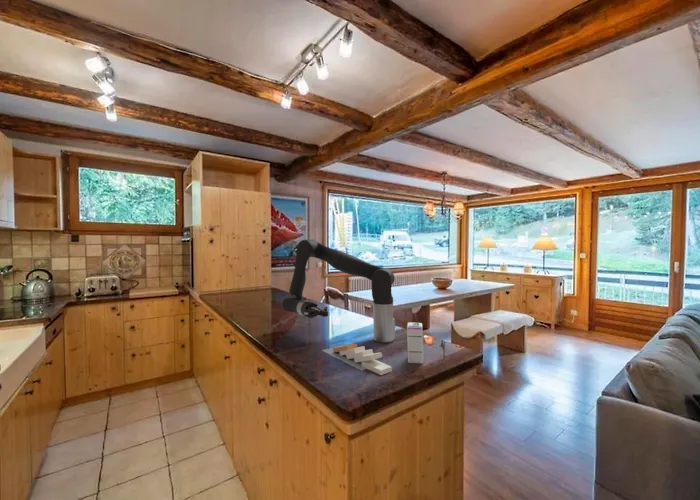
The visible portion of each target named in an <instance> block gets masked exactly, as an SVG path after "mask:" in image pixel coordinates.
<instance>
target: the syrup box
mask: <svg viewBox="0 0 700 500" xmlns="http://www.w3.org/2000/svg"><path fill="white" fill-rule="evenodd" d="M406 333H407V334H406V335H407V336H406V337H407V338H406V343H407V345H406V347H407V363H410V364H424V331H423V323H422V322H413V321H412V322H411V321H410V322H407V324H406Z"/></svg>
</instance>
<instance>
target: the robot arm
mask: <svg viewBox="0 0 700 500" xmlns="http://www.w3.org/2000/svg"><path fill="white" fill-rule="evenodd" d="M309 258H315V259H319V260H322V261H324V262H325V263H327V264H328V265H330V267H332V268H334V269H335V270H337V271H339V272H342V273H345V274H347V275H351V276H355V277H362V278H365V279H367V280H369V281H371V296H372V299H373V301H372V302H373V303H372V305H373V309H372V311H373V314H372V315H373V341H375V342H378V343H390V342H393V341H394V340H395V339H396V319H395V318H394V297H393V294H392V285H393V284H394V283H395V278H396V277H395V274H394V272H393V271H392V270H391V269H389V268H387V267H383V266H378V265H375V264H372V263H369V262H367V261H365V260H363V259H361V258H358V257H356V256H354V255H351V254H350V253H346V252H343V251H341V250H338V249H335V248H331V247H329V246H326V245H325V244H323V243H320V242H318V241H317V240H314V239H303V240H300V241H299V242H298V244H297V247H296V253H295V263H294V269H293V270H294V271H293V275H292V277H291V278H292V279H291V282H290V286H289V289H288V290H289V293H290V294H291V295H292V296H295V297H285V298H284V299H283V300H282V301H281V308H282V310H283V311H285V312H289V313H295V314H299V315H301V316H302V317H305V318H309V319H313V318H315V317H323V318H326V317H327V318H328V316H329V309H328V306H325V307H321V306H319V305H318V304H317V303H316V302H315V301H314V302H313V301H311V300H303V293H304V288H305V285H306V280H307V279H306V278H307V275H306V267H307V265H308V261H309Z"/></svg>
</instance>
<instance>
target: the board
mask: <svg viewBox="0 0 700 500" xmlns="http://www.w3.org/2000/svg"><path fill="white" fill-rule="evenodd" d="M340 346H341V345H337V346H334V347H329V348H326V349H321V351H322V352H324V353H325V354H328V355H329V356H332V357H333V358H335V359H338V360H340V361H341V362H343V363H345V364H347V365H349V366H352V367H353V368H356V369H357V370H360V371H364V370H368V369H367V368H365V367H362V362H356V363H355V361H354V358H352V359H347V356H346V355H342V356H340V351H339V352H333V348H336V347H340Z"/></svg>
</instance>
